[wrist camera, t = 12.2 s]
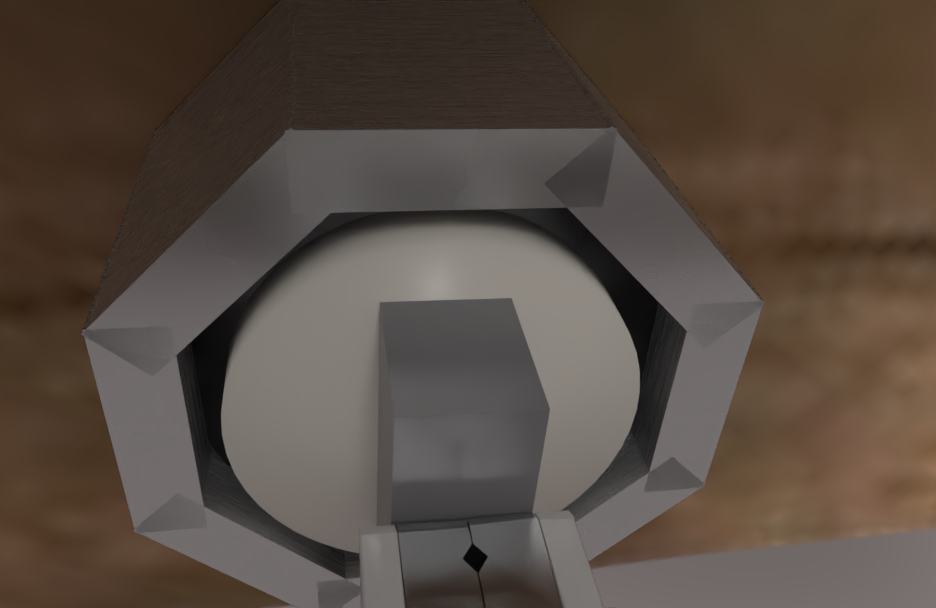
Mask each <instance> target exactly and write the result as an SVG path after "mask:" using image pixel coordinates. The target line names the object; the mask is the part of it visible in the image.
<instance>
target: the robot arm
mask: <svg viewBox="0 0 936 608" xmlns="http://www.w3.org/2000/svg"><path fill="white" fill-rule="evenodd" d="M359 561H360V605H361V608H604V606H603V603H602V600H601V597H600V594H599V591H598V588H597V585H596V582H595V579H594V576H593V573H592V570H591V567H590V564H589V561H588V558H587V555H586V552H585V549H584V546H583V543H582V540H581V537H580V534H579V531H578V528H577V525H576V522H575V519H574V516H573V515H572V514H571V513H570V511H569V510H566V511H554V512H542V513H534V514H533V513H522V514H512V515H501V516H491V517H481V518H470V519H466V520H462V521H445V522H427V523H409V524H396V526H395V524H394V525H380V526H365V527H360V528H359Z"/></svg>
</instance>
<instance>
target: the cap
mask: <svg viewBox="0 0 936 608" xmlns="http://www.w3.org/2000/svg"><path fill="white" fill-rule="evenodd" d="M639 393H640V370H639V364H638V358H637V352H636V349H635V347H634V344H633V341H632V338H631V336H630V333H629V331H628V329H627V327H626V325H625V323H624V321H623V319H622V317H621V315H620V314H619V312H618V310H617V308H616V306H615V304H614V302H613V300H612V298H611V296H610V294H609V292H608V291H607V289H606V287H605V285H604V284H603V282H602V280H601V279H600V277H599V275H598V274H597V272H596V271H595V270H594V269H593V268H592V266H591V265H590V264H589V263H588V261H587V260H586V259H585V258H584V257H583V256H582V255H581V254H580V253H579V252H577V251H576V250H575V249H574V248H573V247H572V246H571V245H569V244H568V243H567V242H566V241H564V240H563V239H561V238H560V237H558V236H557V235H555V234H553V233H552V232H550V231H549V230H547V229H545V228H543V227H541V226H539V225H537V224H534V223H532V222H530V221H528V220H526V219H524V218H521V217H517V216H514V215H511V214H508V213H504V212H501V211H498V210H493V209H479V210H433V211H387V212H378V213H375V214H371V215H368V216H365V217H362V218H358V219H355V220H352V221H350V222H348V223H345V224H343V225H341V226H339V227H336V228H334V229H332V230H330V231H327V232H325V233H324V234H322V235H320V236H319V237H317V238H315V239H314V240H312V241H310V242H309V243H307V244H305V245H303V246H302V247H301V248H299V249H298V250H297V251H295V252H294V253H293V254H292V255H290V256H289V257H288V258H286V259H285V260H284V261H283V262H281V263H280V264H279V265H278V266H277V267H276V268H275V269H274V270H273V271H272V272H271V273H270V274H269V275H268V276H267V277H266V278H265V280H264V281H263V282H262V283H261V284H260V286H259V287H258V288H257V290H256V291H255V292H254V294H253V295H252V297H251V298H250V299H249V301H248V302H247V304H246V306H245V308H244V310H243V312H242V314H241V316H240V318H239V320H238V321H237V324H236V327H235V330H234V333H233V336H232V339H231V342H230V347H229V354H228V361H227V368H226V376H225V384H224V392H223V400H222V409H221V427H222V438H223V442H224V446H225V451H226V455H227V457H228V459H229V462H230V464H231V466H232V469H233V471H234V473H235V475H236V477H237V478H238V480H239V481H240V483H241V484H242V486H243V487H244V489H245V490H246V492H247V493H248V494H249V495H250V496H251V497H252V498H253V499H254V500H255V502H256V503H257V504H258V505H259V506H260V507H261V508H262V509H264V510H265V511H266V512H267V513H268V514H270V515H271V516H272V517H273V518H274V519H276V520H277V521H279V522H280V523H282V524H284V525H285V526H287V527H288V528H290V529H291V530H293V531H295V532H297V533H299V534H301V535H303V536H305V537H308V538H310V539H312V540H314V541H317V542H319V543H322V544H325V545H328V546H331V547H334V548H337V549H342V550H346V551H350V552H355V553H359V528H360V527H365V526H380V525H394V524H395V526H396V524H409V523H427V522H445V521H462V520H466V519H470V518H481V517H491V516H501V515H512V514H522V513H533V514H534V513H542V512H554V511H561V510H563V509H564V508H565V507H567V506H568V505H569V504H571V503H572V502H573V501H574V500H576V499H577V498H578V497H580V496H581V495H582V494H583V493H584V492H585V491H586V490H587V489H588V488H589V487H590V486H591V485H593V484H594V483H595V482H596V480H597V479H598V478H599V477H600V476H601V475H602V474H603V472H604V471H605V470H606V469H607V468H608V467H609V465H610V464H611V462H612V461H613V459H614V458H615V456H616V455H617V454H618V452H619V451H620V449H621V447H622V445H623V443H624V441H625V439H626V437H627V435H628V433H629V431H630V429H631V426H632V423H633V420H634V417H635V414H636V411H637V405H638V399H639Z"/></svg>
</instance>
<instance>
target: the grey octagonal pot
mask: <svg viewBox="0 0 936 608" xmlns="http://www.w3.org/2000/svg"><path fill="white" fill-rule="evenodd" d="M479 209H493V210H498V211H501V212H504V213H508V214H511V215H514V216H517V217H521V218H524V219H526V220H528V221H530V222H532V223H534V224H537V225H539V226H541V227H543V228H545V229H547V230H549V231H550V232H552V233H553V234H555V235H557V236H558V237H560V238H561V239H563V240H564V241H566V242H567V243H568V244H569V245H571V246H572V247H573V248H574V249H575V250H576V251H577V252H579V253H580V254H581V255H582V256H583V257H584V258H585V259H586V260H587V261H588V263H589V264H590V265H591V266H592V268H593V269H594V270H595V271H596V272H597V274H598V275H599V277H600V279H601V280H602V282H603V284H604V285H605V287H606V289H607V291H608V292H609V294H610V296H611V298H612V300H613V302H614V304H615V306H616V308H617V310H618V312H619V314H620V315H621V317H622V319H623V321H624V323H625V325H626V327H627V329H628V331H629V333H630V336H631V338H632V341H633V344H634V347H635V349H636V352H637V358H638V364H639V370H640V393H639V399H638V405H637V411H636V414H635V417H634V420H633V423H632V426H631V429H630V431H629V433H628V435H627V437H626V439H625V441H624V443H623V445H622V447H621V449H620V451H619V452H618V454H617V455H616V456H615V458H614V459H613V461H612V462H611V464H610V465H609V467H608V468H607V469H606V470H605V471H604V472H603V474H602V475H601V476H600V477H599V478H598V479H597V480H596V482H595V483H594V484H593V485H591V486H590V487H589V488H588V489H587V490H586V491H585V492H584V493H583V494H582V495H581V496H580V497H578V498H577V499H576V500H574V501H573V502H572V503H571V504H569V505H568V506H567V507H565V508H564V509H563V510H561V511H566V510H569V511H570V513H571V514H572V515H573V516H574V519H575V522H576V525H577V528H578V531H579V534H580V537H581V540H582V543H583V546H584V549H585V552H586V555H587V558H588V561H590V560H591V559H593V558H594V557H596V556H597V555H599V554H601V553H602V552H604V551H605V550H607V549H608V548H610V547H611V546H613V545H614V544H616V543H617V542H619V541H620V540H622V539H623V538H625V537H627V536H628V535H630V534H631V533H633V532H634V531H636V530H637V529H639V528H640V527H642V526H643V525H645V524H646V523H648V522H649V521H651V520H652V519H654V518H656V517H657V516H659V515H660V514H662V513H663V512H665V511H666V510H668V509H669V508H671V507H672V506H674V505H675V504H677V503H678V502H680V501H682V500H683V499H685V498H686V497H688V496H689V495H691V494H692V493H694V492H695V491H697V490H698V489H700V488H703V486H704V485H705V480H706V477H707V474H708V471H709V468H710V465H711V462H712V459H713V456H714V453H715V450H716V446H717V443H718V440H719V437H720V434H721V431H722V428H723V425H724V422H725V419H726V416H727V413H728V410H729V407H730V404H731V401H732V398H733V395H734V392H735V388H736V385H737V382H738V379H739V376H740V373H741V370H742V367H743V364H744V361H745V358H746V355H747V352H748V349H749V346H750V343H751V340H752V337H753V334H754V330H755V327H756V324H757V321H758V318H759V315H760V312H761V309H762V307H763V306H764V300H763V299H762V298H761V296H760V295H759V294H758V292H757V291H756V290H755V289H754V287H753V286H752V285H751V283H750V282H749V281H748V279H747V278H746V277H745V275H744V274H743V273H742V272H741V270H740V269H739V268H738V266H737V265H736V264H735V262H734V261H733V260H732V258H731V257H730V256H729V255H728V253H727V252H726V251H725V249H724V248H723V247H722V245H721V244H720V243H719V242H718V240H717V239H716V238H715V236H714V235H713V234H712V232H711V231H710V230H709V228H708V227H707V226H706V225H705V223H704V222H703V221H702V219H701V218H700V217H699V215H698V214H697V213H696V212H695V210H694V209H693V208H692V206H691V205H690V204H689V202H688V201H687V200H686V198H685V197H684V196H683V195H682V193H681V192H680V191H679V189H678V188H677V187H676V185H675V184H674V183H673V181H672V180H671V179H670V178H669V176H668V175H667V174H666V172H665V171H664V170H663V168H662V167H661V166H660V165H659V163H658V162H657V161H656V159H655V158H654V157H653V155H652V154H651V153H650V151H649V150H648V149H647V148H646V146H645V145H644V144H643V142H642V141H641V140H640V138H639V137H638V136H637V134H636V133H635V132H634V131H633V129H632V128H631V127H630V126H628V125H627V124H626V123H625V122H624V120H623V119H622V118H621V117H620V116H619V115H618V113H617V112H616V111H615V110H614V109H613V107H612V106H611V105H610V104H609V103H608V101H607V100H606V99H605V98H604V97H603V95H602V94H601V93H600V92H599V91H598V89H597V88H596V87H595V86H594V85H593V83H592V82H591V81H590V80H589V79H588V78H587V76H586V75H585V74H584V73H583V72H582V70H581V69H580V68H579V67H578V66H577V64H576V63H575V62H574V61H573V60H572V58H571V57H570V56H569V55H568V54H567V52H566V51H565V50H564V49H563V48H562V46H561V45H560V44H559V43H558V42H557V41H556V39H555V38H554V37H553V36H552V35H551V33H550V32H549V31H548V30H547V29H546V27H545V26H544V25H543V24H542V23H541V21H540V20H539V19H538V18H537V17H536V15H535V14H534V13H533V12H532V11H531V9H530V8H529V7H528V6H527V4H526V3H525V2H524V0H279V1H278V2H277V3H276V4H275V5H274V6H273V7H272V9H271V10H270V11H269V12H268V13H267V14H266V15H265V16H264V17H263V18H262V19H261V20H260V21H259V22H258V23H257V24H256V25H255V26H254V28H253V29H252V30H251V31H250V32H249V33H248V34H247V35H246V36H245V37H244V38H243V39H242V40H241V41H240V42H239V43H238V44H237V46H236V47H235V48H234V49H233V50H232V51H231V52H230V53H229V54H228V55H227V56H226V57H225V58H224V59H223V60H222V61H221V62H220V64H219V65H218V66H217V67H216V68H215V69H214V70H213V71H212V72H211V73H210V74H209V75H208V76H207V77H206V78H205V79H204V80H203V82H202V83H201V84H200V85H199V86H198V87H197V88H196V89H195V90H194V91H193V92H192V93H191V94H190V95H189V96H188V97H187V98H186V100H185V101H184V102H183V103H182V104H181V105H180V106H179V107H178V108H177V109H176V110H175V111H174V112H173V113H172V114H171V115H170V116H169V118H168V119H167V120H166V121H165V122H164V123H163V124H162V125H161V126H160V127H159V128H156V130H155V132H154V135H153V138H152V141H151V143H150V146H149V149H148V152H147V154H146V157H145V160H144V163H143V165H142V168H141V171H140V174H139V176H138V179H137V182H136V184H135V187H134V190H133V193H132V195H131V198H130V201H129V204H128V206H127V209H126V212H125V215H124V217H123V220H122V223H121V226H120V228H119V231H118V234H117V236H116V239H115V242H114V245H113V247H112V250H111V253H110V256H109V258H108V261H107V264H106V267H105V269H104V272H103V275H102V278H101V280H100V283H99V286H98V288H97V291H96V294H95V297H94V299H93V302H92V305H91V308H90V310H89V313H88V316H87V319H86V321H85V324H84V327H83V329H82V333H81V335H83V336H84V338H85V342H86V346H87V349H88V353H89V357H90V361H91V365H92V369H93V372H94V376H95V380H96V384H97V388H98V392H99V395H100V399H101V403H102V407H103V411H104V414H105V418H106V422H107V426H108V430H109V434H110V437H111V441H112V445H113V449H114V453H115V457H116V460H117V464H118V468H119V472H120V476H121V480H122V483H123V487H124V491H125V495H126V499H127V503H128V506H129V510H130V514H131V518H132V522H133V525H134V527H133V531H135V533H139V534H142V535H144V536H146V537H148V538H150V539H152V540H154V541H156V542H159V543H161V544H163V545H165V546H167V547H169V548H171V549H174V550H176V551H178V552H180V553H182V554H184V555H186V556H189V557H191V558H193V559H195V560H197V561H199V562H201V563H203V564H206V565H208V566H210V567H212V568H214V569H216V570H218V571H221V572H223V573H225V574H227V575H229V576H231V577H233V578H235V579H238V580H240V581H242V582H244V583H246V584H248V585H250V586H253V587H255V588H257V589H259V590H261V591H263V592H265V593H268V594H270V595H272V596H274V597H276V598H278V599H280V600H282V601H285V602H287V603H289V604H291V605H293V606H295V607H297V608H361V605H360V561H359V553H355V552H350V551H346V550H342V549H337V548H334V547H331V546H328V545H325V544H322V543H319V542H317V541H314V540H312V539H310V538H308V537H305V536H303V535H301V534H299V533H297V532H295V531H293V530H291V529H290V528H288V527H287V526H285V525H284V524H282V523H280V522H279V521H277V520H276V519H274V518H273V517H272V516H271V515H270V514H268V513H267V512H266V511H265V510H264V509H262V508H261V507H260V506H259V505H258V504H257V503H256V502H255V500H254V499H253V498H252V497H251V496H250V495H249V494H248V493H247V492H246V490H245V489H244V487H243V486H242V484H241V483H240V481H239V480H238V478H237V477H236V475H235V473H234V471H233V469H232V466H231V464H230V462H229V459H228V457H227V455H226V451H225V446H224V442H223V438H222V427H221V409H222V400H223V392H224V384H225V376H226V368H227V361H228V354H229V347H230V342H231V339H232V336H233V333H234V330H235V327H236V324H237V321H238V320H239V318H240V316H241V314H242V312H243V310H244V308H245V306H246V304H247V302H248V301H249V299H250V298H251V297H252V295H253V294H254V292H255V291H256V290H257V288H258V287H259V286H260V284H261V283H262V282H263V281H264V280H265V278H266V277H267V276H268V275H269V274H270V273H271V272H272V271H273V270H274V269H275V268H276V267H277V266H278V265H279V264H280V263H281V262H283V261H284V260H285V259H286V258H288V257H289V256H290V255H292V254H293V253H294V252H295V251H297V250H298V249H299V248H301V247H302V246H303V245H305V244H307V243H309V242H310V241H312V240H314V239H315V238H317V237H319V236H320V235H322V234H324V233H325V232H327V231H330V230H332V229H334V228H336V227H339V226H341V225H343V224H345V223H348V222H350V221H352V220H355V219H358V218H362V217H365V216H368V215H371V214H375V213H378V212H387V211H433V210H479Z"/></svg>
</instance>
